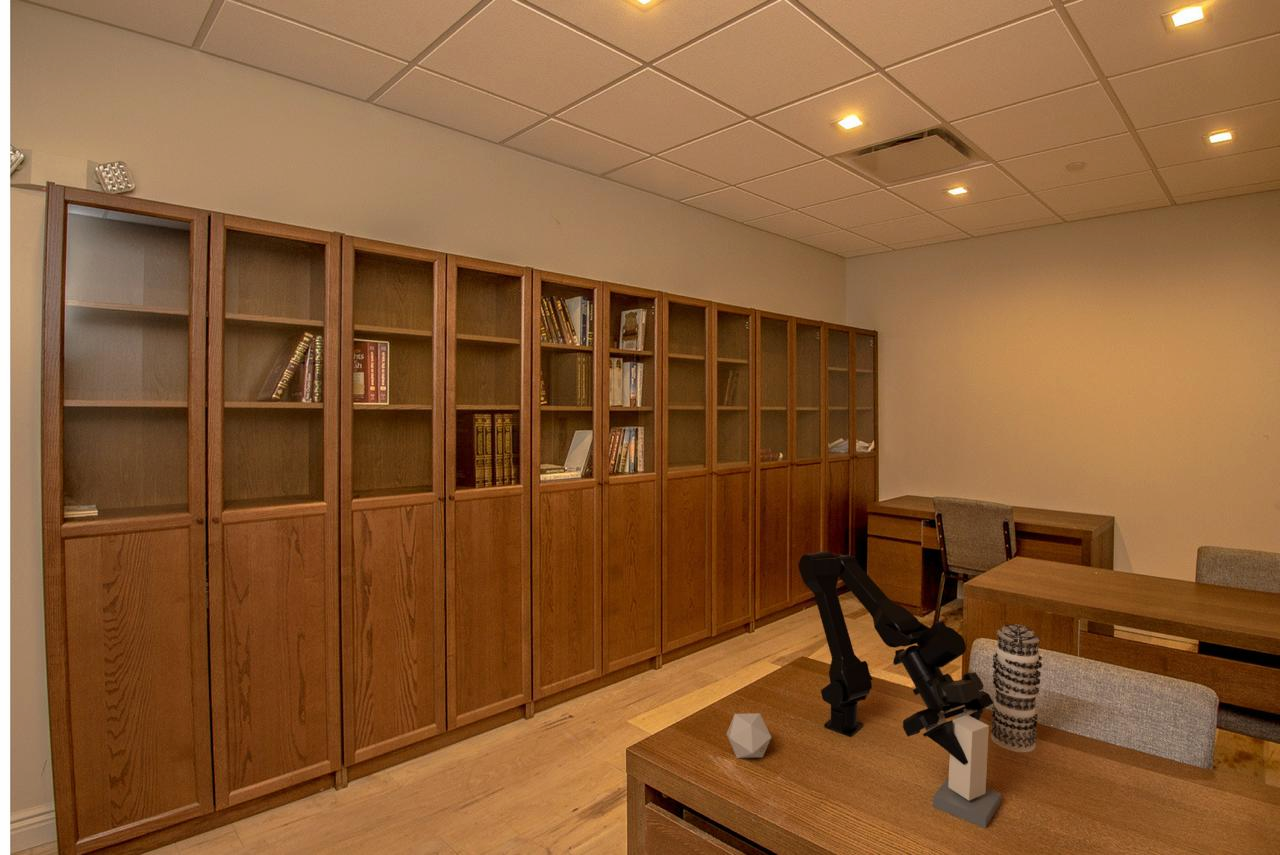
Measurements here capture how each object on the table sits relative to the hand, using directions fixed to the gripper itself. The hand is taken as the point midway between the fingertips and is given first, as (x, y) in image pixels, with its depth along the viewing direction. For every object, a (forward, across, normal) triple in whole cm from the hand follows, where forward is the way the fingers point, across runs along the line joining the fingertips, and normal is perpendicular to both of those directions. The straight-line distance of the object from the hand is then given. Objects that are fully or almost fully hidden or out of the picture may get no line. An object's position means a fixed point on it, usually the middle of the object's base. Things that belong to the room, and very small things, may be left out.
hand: (974, 760), depth 127 cm
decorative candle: (-1, +27, +15) cm, 31 cm away
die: (-17, -25, +31) cm, 43 cm away
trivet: (+6, 0, +8) cm, 9 cm away
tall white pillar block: (+4, 0, +6) cm, 7 cm away
